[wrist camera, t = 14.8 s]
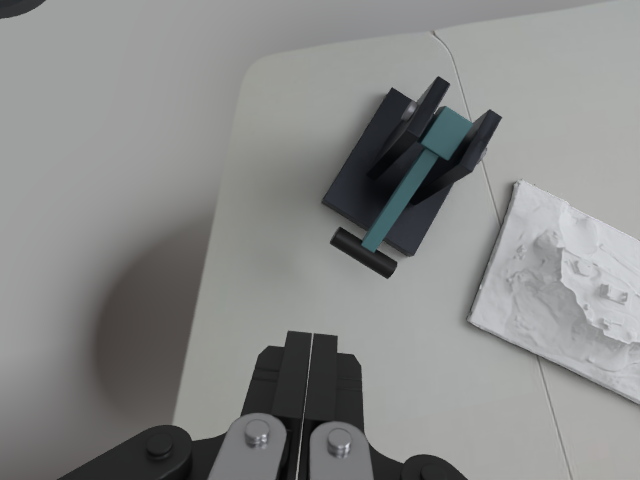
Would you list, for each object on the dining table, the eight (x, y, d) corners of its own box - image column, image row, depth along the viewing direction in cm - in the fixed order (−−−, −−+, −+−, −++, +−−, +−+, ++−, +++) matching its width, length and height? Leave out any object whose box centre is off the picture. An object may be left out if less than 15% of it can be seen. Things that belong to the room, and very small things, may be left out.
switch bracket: (409, 257, 41) (471, 239, 29) (320, 202, 40) (349, 161, 28) (470, 146, 43) (552, 88, 31) (388, 92, 42) (439, 14, 31)
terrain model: (679, 422, 43) (737, 439, 38) (457, 352, 40) (489, 361, 35) (709, 252, 46) (766, 248, 41) (502, 174, 43) (538, 159, 38)
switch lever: (386, 273, 36) (387, 283, 33) (330, 238, 35) (328, 247, 33) (482, 134, 33) (491, 135, 30) (422, 95, 32) (427, 93, 30)
